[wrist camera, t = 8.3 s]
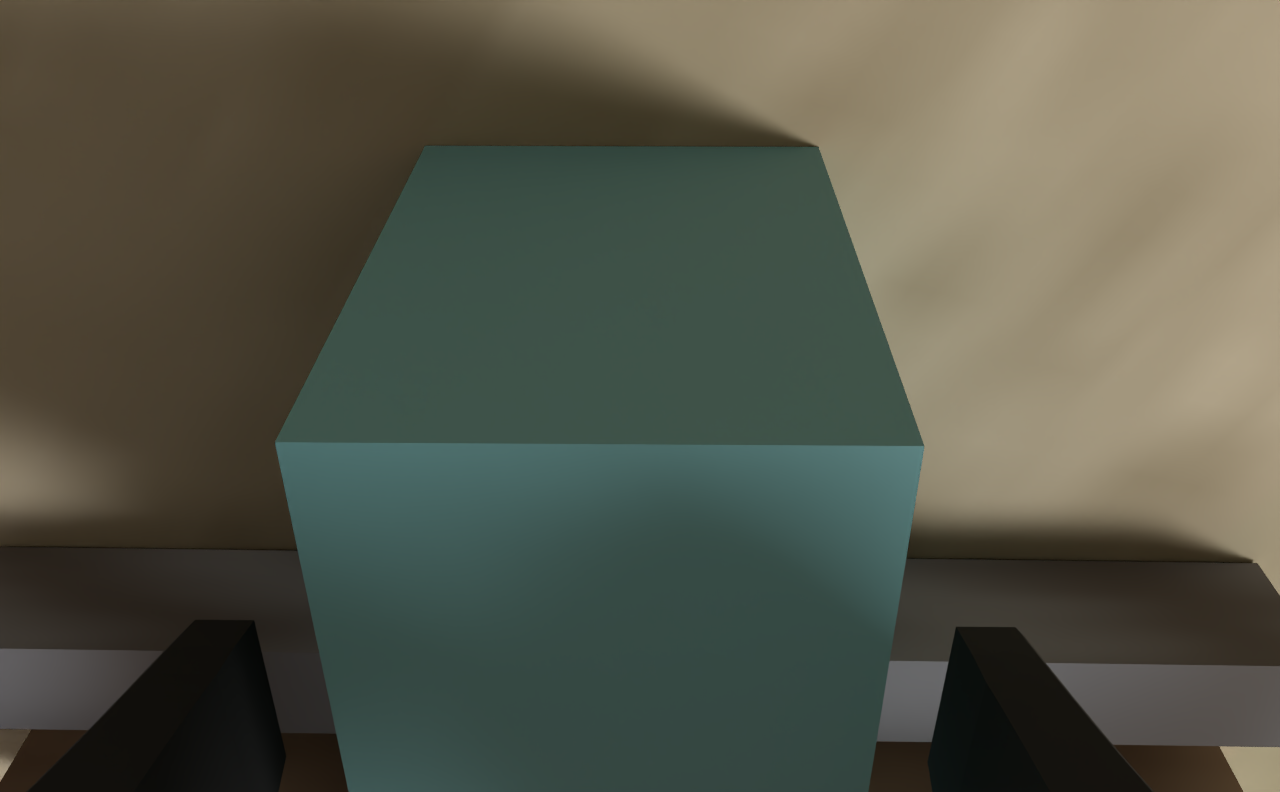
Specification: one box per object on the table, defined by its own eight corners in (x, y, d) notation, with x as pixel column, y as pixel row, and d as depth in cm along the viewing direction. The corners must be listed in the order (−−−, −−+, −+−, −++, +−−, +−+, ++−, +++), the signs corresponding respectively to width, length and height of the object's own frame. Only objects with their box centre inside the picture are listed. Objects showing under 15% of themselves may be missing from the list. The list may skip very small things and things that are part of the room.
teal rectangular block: (483, 698, 18) (415, 1104, 13) (425, 145, 13) (274, 443, 8) (770, 700, 18) (816, 1109, 13) (817, 146, 13) (924, 446, 8)
